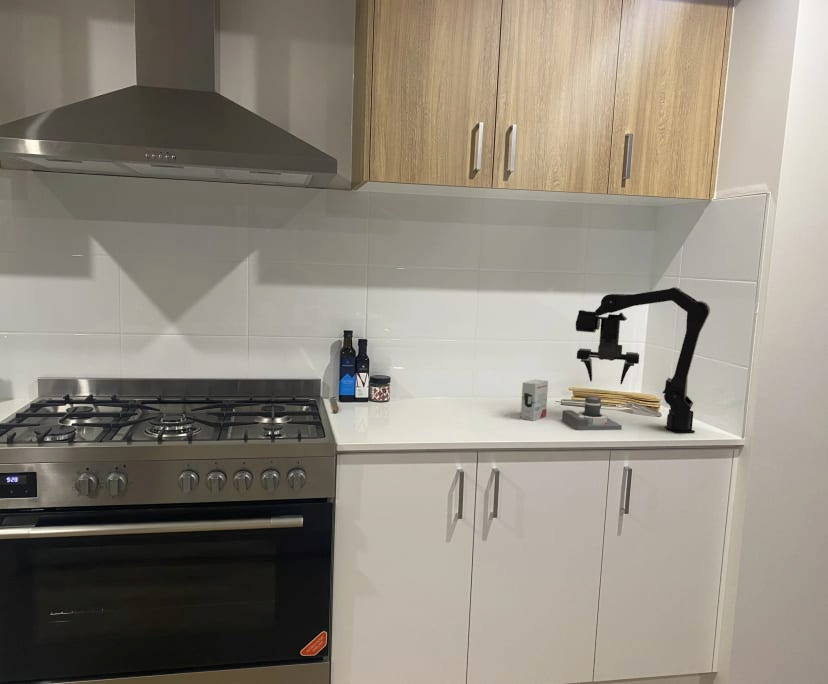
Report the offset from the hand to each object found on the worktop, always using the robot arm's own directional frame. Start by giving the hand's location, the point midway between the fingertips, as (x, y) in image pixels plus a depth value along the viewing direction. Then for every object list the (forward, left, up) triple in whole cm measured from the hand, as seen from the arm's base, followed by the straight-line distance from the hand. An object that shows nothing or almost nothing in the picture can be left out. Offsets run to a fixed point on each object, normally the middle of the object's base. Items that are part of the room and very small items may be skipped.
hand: (605, 382), depth 212 cm
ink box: (+22, -4, -12) cm, 25 cm away
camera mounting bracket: (+7, +6, -12) cm, 15 cm away
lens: (+7, +6, -11) cm, 14 cm away
